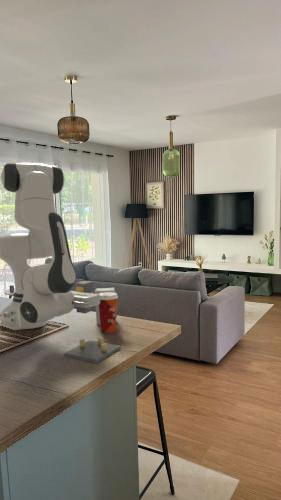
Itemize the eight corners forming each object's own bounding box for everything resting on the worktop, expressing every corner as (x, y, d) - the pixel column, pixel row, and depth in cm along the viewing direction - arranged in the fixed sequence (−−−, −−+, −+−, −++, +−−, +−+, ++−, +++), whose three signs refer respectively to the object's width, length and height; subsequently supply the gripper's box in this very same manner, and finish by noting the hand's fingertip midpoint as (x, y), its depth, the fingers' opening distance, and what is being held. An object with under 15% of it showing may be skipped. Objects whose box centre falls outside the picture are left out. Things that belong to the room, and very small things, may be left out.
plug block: (75, 312, 135) (75, 283, 134) (84, 309, 140) (84, 280, 139) (84, 313, 134) (83, 284, 132) (93, 310, 138) (92, 281, 137)
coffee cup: (115, 334, 141) (114, 296, 140) (95, 333, 143) (94, 295, 141) (121, 328, 149) (120, 292, 148) (101, 327, 151) (101, 291, 150)
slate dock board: (64, 356, 120) (63, 345, 120) (89, 342, 132) (89, 333, 132) (97, 363, 114) (96, 352, 113) (120, 348, 126) (120, 338, 126)
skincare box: (116, 320, 160) (116, 287, 159) (115, 324, 154) (114, 290, 153) (97, 320, 160) (96, 287, 159) (95, 324, 154) (94, 290, 153)
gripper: (86, 295, 120) (109, 287, 132) (39, 289, 129) (64, 282, 142) (86, 314, 121) (109, 304, 133) (39, 307, 130) (65, 298, 142)
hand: (86, 293), depth 137 cm, fingers closed on plug block, 4 cm apart
